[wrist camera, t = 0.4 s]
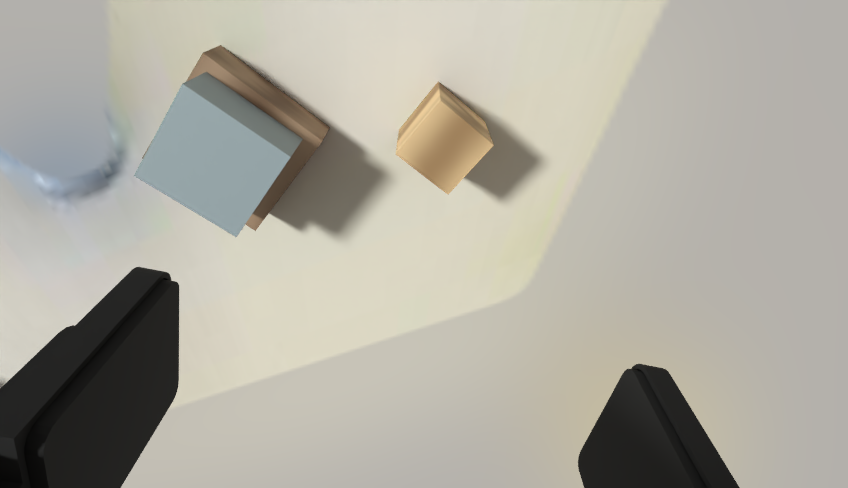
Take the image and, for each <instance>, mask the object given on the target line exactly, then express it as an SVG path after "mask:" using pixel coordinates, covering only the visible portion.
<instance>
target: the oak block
mask: <svg viewBox="0 0 848 488" xmlns="http://www.w3.org/2000/svg"><path fill="white" fill-rule="evenodd" d="M493 145H494V144H493V142H492V139H491V137H490V134H489V131H488V129H487V126H486V123H485V121H484V120H482V119H481V118H480V117H479V116H478V115H477V114H475V113H474V112H473V111H472V110H471V109H470V108H468V107H467V106H466V105H465V104H464V103H463V102H461V101H460V100H459V99H458V98H457V97H456V96H454V95H453V94H452V93H451V92H450V91H449V90H447V89H446V88H445V87H444V86H443V85H442V84H440V83H439V82H438V83H437V84H436V85H435V86H434V87H433V89H432V90H431V91H430V92H429V94H428V95H427V96H426V97H425V99H424V100H423V101H422V102H421V103H420V105H419V106H418V107H417V108H416V110H415V111H414V112H413V113H412V114H411V116H410V117H409V118H408V119H407V121H406V122H405V123H404V124H403V126H402V127H401V128H400V129H399V134H398V141H397V149H396V155H397V156H399V157H400V158H401V159H402V160H404V161H405V162H406V163H408V164H409V165H410V166H412V167H413V168H414V169H415V170H417V171H418V172H419V173H421V174H422V175H423V176H425V177H426V178H427V179H428V180H430V181H431V182H432V183H434V184H435V185H436V186H438V187H439V188H440V189H441V190H443V191H444V192H445V193H447V194H449V193H450V192H451V191H452V190H453V189H454V188H455V187H456V186H457V184H458V183H459V182H460V181H461V180H462V179H463V178H464V177H465V176H466V175H467V174H468V173H469V171H470V170H471V169H472V168H473V167H474V166H475V165H476V164H477V163H478V162H479V161H480V160H481V158H482V157H483V156H484V155H485V154H486V153H487V152H488V151H489V150H490V149H491V148H492V147H493Z"/></svg>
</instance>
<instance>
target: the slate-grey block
mask: <svg viewBox="0 0 848 488" xmlns="http://www.w3.org/2000/svg"><path fill="white" fill-rule="evenodd" d="M302 140H303V139H302V138H301V137H299V136H298V135H297V134H295V133H294V132H292V131H291V130H289V129H288V128H286V127H285V126H284V125H282V124H281V123H279V122H278V121H276V120H275V119H274V118H272V117H271V116H269V115H268V114H266V113H265V112H263V111H262V110H261V109H259V108H258V107H256V106H255V105H253V104H252V103H251V102H249V101H248V100H246V99H245V98H243V97H242V96H240V95H239V94H238V93H236V92H235V91H233V90H232V89H230V88H229V87H227V86H226V85H225V84H223V83H222V82H220V81H219V80H217V79H216V78H215V77H213V76H212V75H210V74H209V73H207V72H205V73H203V74H201V75H199V76H197V77H195V78H193V79H191V80H189V81H187V82H185V83H183V84H182V86H181V87H180V89H179V91H178V93H177V95H176V97H175V99H174V101H173V103H172V105H171V106H170V108H169V110H168V112H167V114H166V116H165V118H164V120H163V122H162V124H161V125H160V127H159V129H158V131H157V133H156V135H155V137H154V139H153V141H152V143H151V144H150V146H149V148H148V150H147V152H146V154H145V156H144V158H143V160H142V162H141V163H140V165H139V167H138V169H137V171H136V173H135V175H134V176H135V177H137V178H139V179H140V180H142V181H144V182H145V183H147V184H149V185H150V186H152V187H154V188H155V189H157V190H159V191H160V192H162V193H164V194H165V195H167V196H169V197H170V198H172V199H174V200H175V201H177V202H179V203H180V204H182V205H184V206H185V207H187V208H189V209H190V210H192V211H194V212H195V213H197V214H199V215H200V216H202V217H204V218H205V219H207V220H209V221H210V222H212V223H214V224H215V225H217V226H219V227H220V228H222V229H224V230H225V231H227V232H229V233H230V234H232V235H234V236H235V237H237V235H238V234H239V233H240V231H241V230H242V228H243V227H244V225H245V224H246V222H247V221H248V219H249V218H250V216H251V215H252V214H253V212H254V211H255V209H256V208H257V206H258V205H259V203H260V202H261V200H262V199H263V197H264V196H265V194H266V193H267V191H268V190H269V188H270V187H271V185H272V184H273V183H274V181H275V180H276V178H277V177H278V175H279V174H280V172H281V171H282V169H283V168H284V166H285V165H286V163H287V162H288V160H289V159H290V157H291V156H292V155H293V153H294V152H295V150H296V149H297V147H298V146H299V144H300V143H301V141H302Z"/></svg>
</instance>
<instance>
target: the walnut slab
mask: <svg viewBox="0 0 848 488" xmlns="http://www.w3.org/2000/svg"><path fill="white" fill-rule="evenodd" d="M205 72H207V73H209V74H210V75H212V76H213V77H215V78H216V79H217V80H219V81H220V82H222V83H223V84H225V85H226V86H227V87H229V88H230V89H232V90H233V91H235V92H236V93H238V94H239V95H240V96H242V97H243V98H245V99H246V100H248V101H249V102H251V103H252V104H253V105H255V106H256V107H258V108H259V109H261V110H262V111H263V112H265V113H266V114H268V115H269V116H271V117H272V118H274V119H275V120H276V121H278V122H279V123H281V124H282V125H284V126H285V127H286V128H288V129H289V130H291V131H292V132H294V133H295V134H297V135H298V136H299V137H301V138H302V139H303V140H302V141H301V143H300V144H299V146H298V147H297V149H296V150H295V152H294V153H293V155H292V156H291V157H290V159H289V160H288V162H287V163H286V165H285V166H284V168H283V169H282V171H281V172H280V174H279V175H278V177H277V178H276V180H275V181H274V183H273V184H272V185H271V187H270V188H269V190H268V191H267V193H266V194H265V196H264V197H263V199H262V200H261V202H260V203H259V205H258V206H257V208H256V209H255V211H254V212H253V214H252V215H251V216H250V218H249V219H248V221H247V222H246V225H247V226H249V227H250V228H252V229H254V230H255V231H256V229H257V228H258V227H259V225H260V224H261V223H262V221H263V220H264V219H265V217H266V216H267V215H268V213H269V212H270V210H271V209H272V208H273V206H274V205H275V204H276V202H277V201H278V200H279V198H280V197H281V196H282V194H283V193H284V192H285V190H286V189H287V188H288V186H289V185H290V184H291V182H292V181H293V180H294V178H295V177H296V176H297V174H298V173H299V172H300V170H301V169H302V168H303V166H304V165H305V164H306V162H307V161H308V160H309V158H310V157H311V156H312V154H313V153H314V152H315V150H316V149H317V148H318V146H319V145H320V144H321V142H322V141H323V139H324V137H325V135H326V134H327V132H328V130H329V128H330V127H328V126H327V125H326V124H324V123H323V122H322V121H320V120H319V119H318V118H316V117H315V116H314V115H312V114H311V113H310V112H308V111H307V110H306V109H304V108H303V107H302V106H300V105H299V104H298V103H296V102H295V101H294V100H292V99H291V98H290V97H288V96H287V95H286V94H284V93H283V92H282V91H280V90H279V89H278V88H276V87H275V86H274V85H273V84H271V83H270V82H269V81H267V80H266V79H265V78H263V77H262V76H261V75H259V74H258V73H257V72H255V71H254V70H253V69H251V68H250V67H249V66H247V65H246V64H245V63H243V62H242V61H241V60H239V59H238V58H237V57H235V56H234V55H233V54H231V53H230V52H229V51H227V50H226V49H225V48H223V47H222V46H221V45H220V46H218V47H215V48H213V49H211V50H208V51H206V52H204V53H203V54H202V55H201V57H200V59H199V61H198V62H197V64H196V66H195V68H194V69H193V71H192V73H191V74H190V76H189V78H188V80H187V81H189V80H191V79H193V78H195V77H197V76H199V75H201V74H203V73H205ZM187 81H186V82H187ZM152 141H153V140H152ZM151 143H152V142H151ZM149 146H150V145H149ZM148 148H149V147H148ZM147 150H148V149H147ZM146 152H147V151H146ZM146 152H145V154H146ZM145 154H144V156H145ZM144 156H143V158H144Z"/></svg>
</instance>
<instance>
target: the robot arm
mask: <svg viewBox="0 0 848 488" xmlns="http://www.w3.org/2000/svg"><path fill="white" fill-rule="evenodd" d="M178 381H179V285H178V283H177V282H175V281H171V277H170V274H169V273H167V272H162V271H157V270H152V269H147V268H141V267H136V268H134V269H133V270H132V271H131V272H130V273H129V274H128V275H127V276H126V277H124V278H123V279H122V280H121V281H120V282H119V283H118V284H117V285H116V286H115V287H114V288H113V289H112V290H111V291H110V292H109V293H108V294H107V295H106V296H105V297H104V298H103V299H102V300H101V301H100V302H99V303H98V304H97V305H96V306H95V307H94V308H93V309H92V310H91V311H90V312H89V313H88V314H87V315H86V316H85V317H84V318H83V319H82V320H81V321H80V322H79V323H78V324H77V325H75V326H70V327H66V328H65V329H63V330H62V331H61V332H59V333H58V334H57V335H56V336H55V337H54V338H53V339H52V340H51V341H50V342H49V343H48V344H47V345H46V346H45V347H44V348H43V349H42V350H40V351H39V352H38V353H37V354H36V355H35V356H34V357H33V358H32V359H31V360H30V361H29V362H28V363H27V364H26V365H25V366H24V367H23V368H22V369H21V370H20V371H18V372H17V373H16V374H15V375H14V376H13V377H12V378H11V379H10V380H9V381H8V382H7V383H6V384H5V385H4V386H3V387H2V388H1V389H0V488H121V486H122V484H123V483H124V481H125V479H126V478H127V476H128V474H129V472H130V471H131V469H132V468H133V466H134V464H135V463H136V461H137V460H138V458H139V456H140V454H141V453H142V451H143V450H144V448H145V446H146V445H147V443H148V441H149V440H150V438H151V436H152V435H153V433H154V431H155V430H156V428H157V426H158V425H159V423H160V421H161V420H162V418H163V416H164V415H165V413H166V412H167V410H168V408H169V407H170V405H171V403H172V402H173V400H174V398H175V395H176V392H177V389H178ZM578 467H579V472H580V475H581V478H582V482H583V485H584V488H739V486H738V485H737V483H736V481H735V480H734V478H733V476H732V475H731V473H730V472H729V470H728V468H727V467H726V465H725V463H724V462H723V460H722V458H721V457H720V455H719V454H718V452H717V450H716V449H715V447H714V446H713V444H712V442H711V441H710V439H709V437H708V436H707V434H706V432H705V431H704V429H703V428H702V426H701V424H700V423H699V421H698V419H697V418H696V416H695V414H694V413H693V411H692V410H691V408H690V406H689V405H688V403H687V401H686V400H685V398H684V396H683V395H682V393H681V392H680V390H679V388H678V387H677V385H676V383H675V382H674V380H673V379H672V377H671V375H670V374H669V372H668V371H667V370H665V369H663V368H658V367H653V366H647V365H642V364H636V365H635V366H633V367H632V369H627V370H626V371H625V372H624V373H623V375H622V376H621V378H620V380H619V382H618V384H617V385H616V387H615V389H614V391H613V393H612V395H611V397H610V398H609V400H608V402H607V404H606V406H605V408H604V409H603V411H602V413H601V415H600V417H599V418H598V420H597V422H596V424H595V426H594V428H593V429H592V432H591V433H590V435H589V437H588V439H587V440H586V442H585V444H584V446H583V448H582V450H581V452H580V454H579V460H578Z"/></svg>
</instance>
